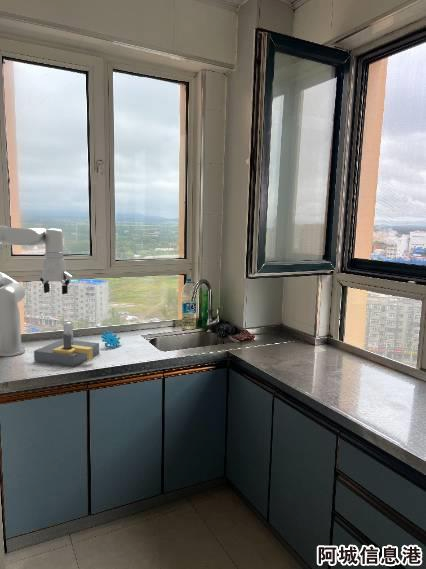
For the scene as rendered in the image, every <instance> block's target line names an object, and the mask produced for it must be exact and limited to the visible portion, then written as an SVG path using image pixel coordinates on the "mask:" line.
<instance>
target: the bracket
mask: <svg viewBox="0 0 426 569" xmlns="http://www.w3.org/2000/svg"><path fill="white" fill-rule="evenodd" d="M53 352H57V353H65V354H72V353H74V352H78V353H86V354H87V360H86V361H91V360H93V359H94V357H93V347H84V346H77V345H71V349H70V350H66V349H64V345H62V346H60V347H58V348H55V349H53Z"/></svg>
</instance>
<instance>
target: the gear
mask: <svg viewBox="0 0 426 569" xmlns="http://www.w3.org/2000/svg"><path fill="white" fill-rule="evenodd" d="M117 336H118V335H117V334H116V333H114V332H113V331H109V330H106V331H103V333H102V335H101V338H102V339H101V342H102V343H104V346H105V347H107V346H108V348H109V349H111V348H112V349H116V348H119V347H120V344H121V342H120V340H121V336H118V337H117Z"/></svg>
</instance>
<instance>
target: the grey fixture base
mask: <svg viewBox="0 0 426 569" xmlns="http://www.w3.org/2000/svg"><path fill="white" fill-rule="evenodd" d="M73 325H74V324H73V321H70V320H69V321H63V335H64V334H71V345H77V346H84V347H93V358H94V357H95V356H97V355H99V354H100V343H99V342H93V341H92V342H91V341H83V340H75V339H74V330H73V329H74V328H73ZM62 345H64V341H63V339H59V340H56V341H54V342H52V343H49V344H47V345H45V346H42V347H41V348H38V349H36V350H33V360H34V363H40V364H49V365H55V366H56V365H57V366H63V367H71V368H76V367H77V366H79V365H81V364H83V363H84V362H87V361H88V360H87V354H86V353H78V352H74V353H72V354H65V353H57V352H53V349H55V348H58V347H60V346H62Z"/></svg>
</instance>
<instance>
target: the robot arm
mask: <svg viewBox="0 0 426 569" xmlns="http://www.w3.org/2000/svg"><path fill="white" fill-rule="evenodd" d="M63 243H64V241H63V231H62V229H59V228H42V227H31V228H29V227H28V228H27V227H24V228H23V227H10V226H8V225H1V224H0V245H4V246H8V245H10V246H28V247H29V246H30V247H31V246H38V245H45V247H44V248H45V252H44V254H43V256H44V257H45V258H43V263H42V264H43V265H42V272H40V273H39V274H38V277H39V280H40V281H41V283H42V285H43V293H44V294H46V293H50V292H51V291H50V287H51V286H50V282H57V283H58V282H60V283H61V284H62V285H61V294H62V295H67V294H68V291H69V288H68V286H69V284H70V283H71V282H72V279H73V275H71V274H70V273H68V272H67V266H66V265H67V264H66V261H65V259H64V244H63ZM25 296H26V290H25V287H24V286H23V284H21V283H19V282H17V280H15V279H13V278H11V277H10V276H8V275H7V274H5V273H4V272H1V271H0V357H14V356H18V355H21V354H23V353H25V352H26V348H25V346H24V347H23V346H22V331H21V329H22V328H21V315H20V310H19V309H20V308H19V302H21V301H23V299H24V298H25Z"/></svg>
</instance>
